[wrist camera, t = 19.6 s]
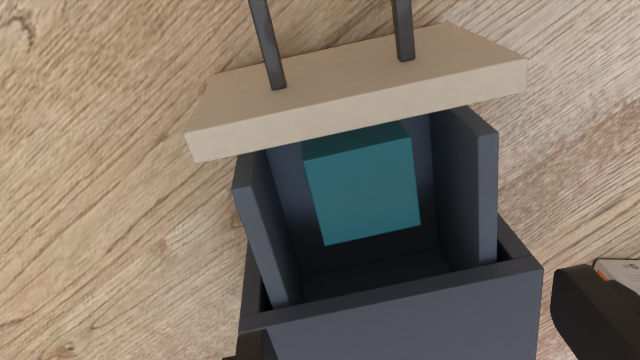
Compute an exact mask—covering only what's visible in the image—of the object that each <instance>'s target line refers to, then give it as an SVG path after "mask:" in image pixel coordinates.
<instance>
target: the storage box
mask: <svg viewBox="0 0 640 360" xmlns="http://www.w3.org/2000/svg"><path fill="white" fill-rule="evenodd" d="M543 274H544V268H543V267H542V266H541V265H540V263H539V262H538V261H537V260H536V259H535V257H534V256H532V254H531V253H530V251H529V250H528V249H527V248H526V246H525V245H524V244H523V243H522V242H521V240H520V239H519V238H518V237H517V235H516V234H515V233H514V232H513V231H512V229H511V228H510V227H509V226H508V224H507V223H506V222H505V221H504V220H503V218H502V217H501V216H500V215H499V214H498V212H497V263H494V264H489V265H485V266H480V267H475V268H470V269H466V270H461V271H456V272H451V273H447V274H442V275H437V276H432V277H427V278H423V279H418V280H413V281H408V282H404V283H399V284H394V285H389V286H385V287H380V288H375V289H370V290H366V291H361V292H356V293H351V294H347V295H342V296H337V297H332V298H327V299H323V300H318V301H313V302H308V303H304V304H299V305H294V306H289V307H285V308H280V309H275V310H273V307H272V305H271V302H270V299H269V296H268V293H267V291H266V288H265V285H264V282H263V279H262V277H261V274H260V271H259V268H258V265H257V263H256V260H255V257H254V254H253V251H252V249H251V246H250V243H249V240H248V243H247V253H246V262H245V272H244V282H243V291H242V301H241V311H240V319H239V329H238V334H241V333H246V332H251V331H256V330H261V329H266V330H267V331H268V334H269V336H270V339H271V341H272V344H273V347H274V349H275V352H276V354H277V357H278V360H536V350H537V340H538V329H539V318H540V307H541V296H542V285H543Z"/></svg>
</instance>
